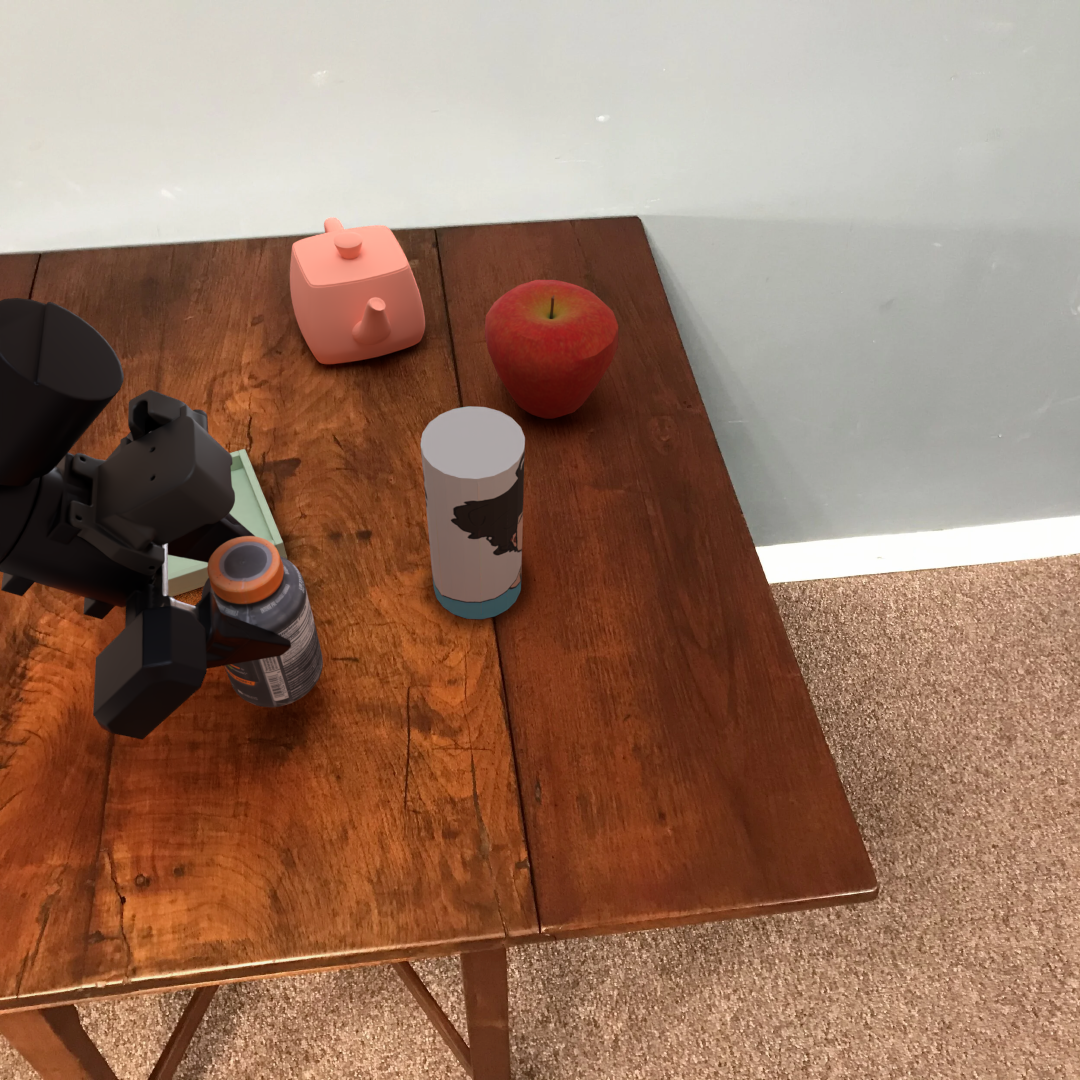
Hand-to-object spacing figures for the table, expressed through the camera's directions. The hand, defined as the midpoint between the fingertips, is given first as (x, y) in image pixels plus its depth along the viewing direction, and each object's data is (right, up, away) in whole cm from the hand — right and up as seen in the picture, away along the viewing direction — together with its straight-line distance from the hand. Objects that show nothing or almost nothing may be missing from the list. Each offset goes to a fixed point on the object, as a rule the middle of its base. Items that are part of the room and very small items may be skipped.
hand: (282, 606), depth 56 cm
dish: (-12, +5, +18) cm, 22 cm away
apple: (+16, +16, +29) cm, 37 cm away
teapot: (-2, +23, +35) cm, 42 cm away
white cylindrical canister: (+11, 0, +16) cm, 19 cm away
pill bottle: (-2, -5, +5) cm, 7 cm away
